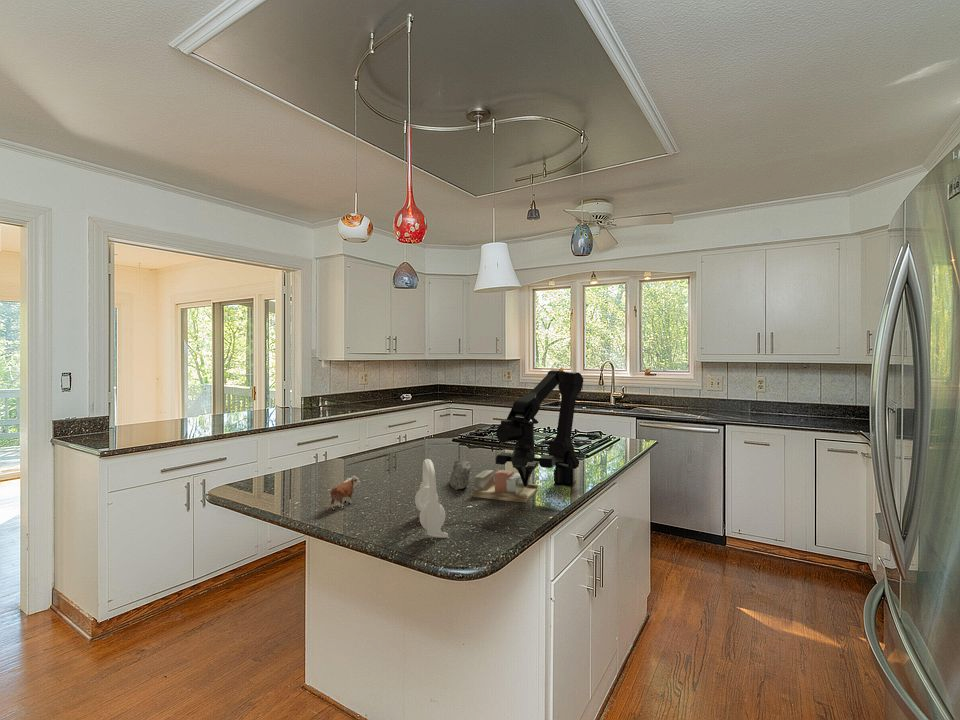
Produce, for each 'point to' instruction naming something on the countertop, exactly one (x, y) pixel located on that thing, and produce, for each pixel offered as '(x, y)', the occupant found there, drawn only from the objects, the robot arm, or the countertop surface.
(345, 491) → the bull figurine
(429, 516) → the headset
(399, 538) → the countertop surface
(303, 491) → the countertop surface
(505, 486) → the block
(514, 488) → the jaw
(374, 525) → the countertop surface
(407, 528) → the countertop surface
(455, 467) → the rock
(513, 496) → the vise base
